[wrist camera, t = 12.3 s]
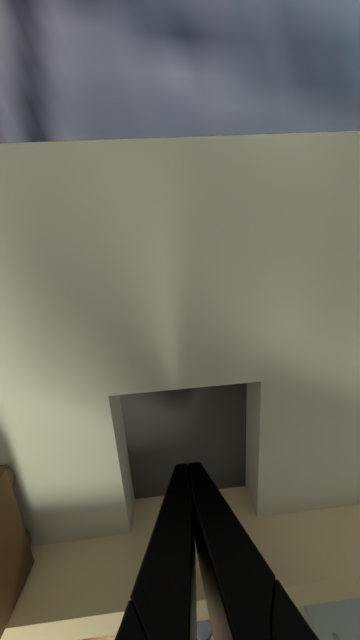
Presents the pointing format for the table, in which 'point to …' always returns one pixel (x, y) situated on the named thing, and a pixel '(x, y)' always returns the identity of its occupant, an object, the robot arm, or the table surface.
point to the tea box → (333, 619)
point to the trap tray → (179, 358)
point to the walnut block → (11, 549)
